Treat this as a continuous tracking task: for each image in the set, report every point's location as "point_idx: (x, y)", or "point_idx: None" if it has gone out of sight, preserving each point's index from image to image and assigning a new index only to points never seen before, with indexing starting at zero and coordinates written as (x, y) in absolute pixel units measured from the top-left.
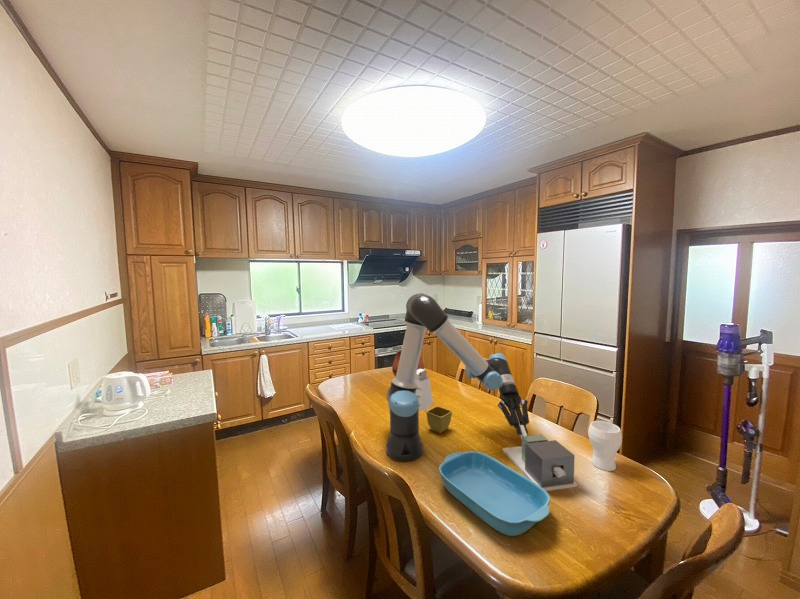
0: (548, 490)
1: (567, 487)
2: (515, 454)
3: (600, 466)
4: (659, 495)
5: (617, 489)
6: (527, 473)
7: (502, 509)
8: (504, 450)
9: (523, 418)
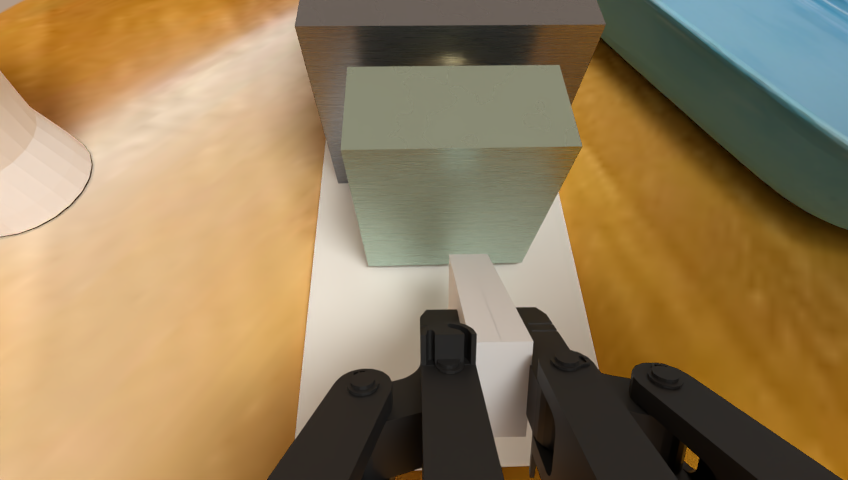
0: None
1: None
2: None
3: (77, 144)
4: (58, 6)
5: (178, 45)
6: None
7: (713, 15)
8: None
9: (429, 427)
